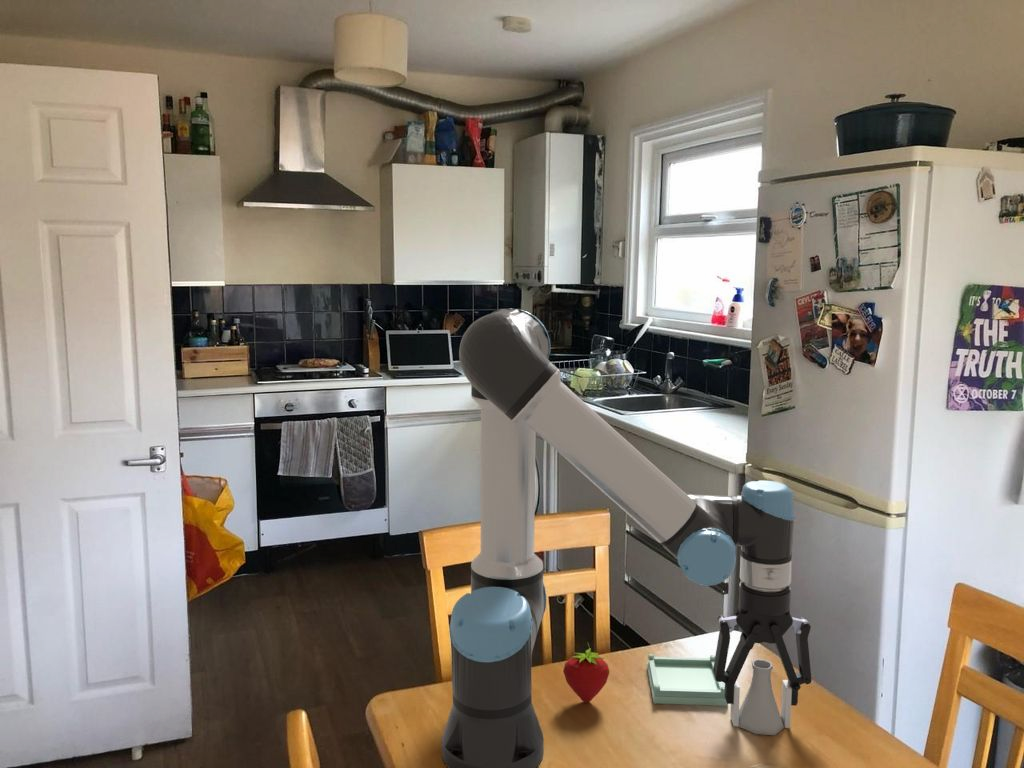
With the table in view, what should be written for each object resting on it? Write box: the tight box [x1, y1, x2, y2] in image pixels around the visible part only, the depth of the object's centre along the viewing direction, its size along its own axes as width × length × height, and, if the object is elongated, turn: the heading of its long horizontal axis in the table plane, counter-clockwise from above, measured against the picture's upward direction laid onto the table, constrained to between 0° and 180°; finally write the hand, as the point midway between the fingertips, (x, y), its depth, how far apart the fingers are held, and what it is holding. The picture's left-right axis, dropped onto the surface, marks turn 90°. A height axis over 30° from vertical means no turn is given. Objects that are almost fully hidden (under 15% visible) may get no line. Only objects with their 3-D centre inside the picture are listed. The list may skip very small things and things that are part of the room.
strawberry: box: [563, 642, 610, 703], centre depth 136 cm, size 6×8×10 cm
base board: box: [646, 653, 729, 707], centre depth 141 cm, size 12×12×3 cm
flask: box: [738, 658, 785, 736], centre depth 129 cm, size 7×7×10 cm
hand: (759, 722), depth 130 cm, fingers closed on flask, 7 cm apart
